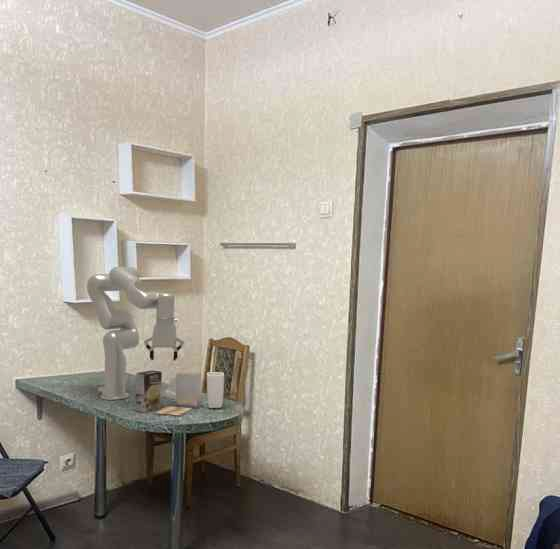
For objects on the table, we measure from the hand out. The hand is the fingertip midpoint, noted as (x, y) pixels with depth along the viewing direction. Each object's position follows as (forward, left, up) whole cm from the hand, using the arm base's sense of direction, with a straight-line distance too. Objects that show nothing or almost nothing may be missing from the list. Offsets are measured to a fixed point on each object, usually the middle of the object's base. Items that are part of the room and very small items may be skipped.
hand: (163, 360), depth 213 cm
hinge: (-2, +19, -21) cm, 29 cm away
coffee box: (-4, -5, -21) cm, 22 cm away
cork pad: (+8, -5, -21) cm, 23 cm away
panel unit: (+10, +5, -21) cm, 23 cm away
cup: (+22, +7, -21) cm, 31 cm away
